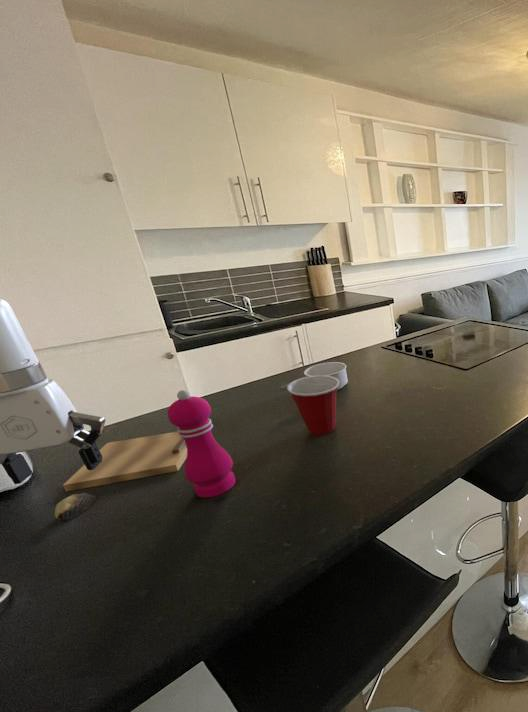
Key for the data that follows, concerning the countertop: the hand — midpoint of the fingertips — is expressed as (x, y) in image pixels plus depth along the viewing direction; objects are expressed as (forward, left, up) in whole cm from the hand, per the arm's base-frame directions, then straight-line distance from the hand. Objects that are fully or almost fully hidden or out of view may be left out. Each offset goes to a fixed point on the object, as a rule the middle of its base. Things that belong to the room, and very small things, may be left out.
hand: (60, 472), depth 69 cm
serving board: (+4, +15, -8) cm, 17 cm away
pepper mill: (+22, -2, -8) cm, 23 cm away
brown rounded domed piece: (0, 0, -8) cm, 8 cm away
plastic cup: (+40, +14, -8) cm, 43 cm away
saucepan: (+37, +38, -8) cm, 53 cm away
